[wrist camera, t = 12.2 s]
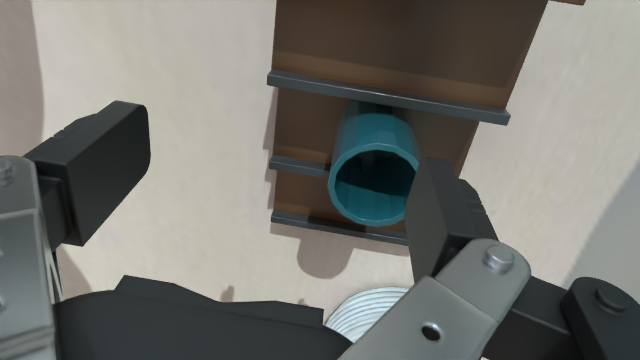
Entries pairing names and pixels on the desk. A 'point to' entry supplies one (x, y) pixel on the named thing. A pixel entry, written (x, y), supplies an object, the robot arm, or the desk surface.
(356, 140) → the cup
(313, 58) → the shelf rack
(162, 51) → the desk surface
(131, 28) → the desk surface
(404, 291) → the cable
